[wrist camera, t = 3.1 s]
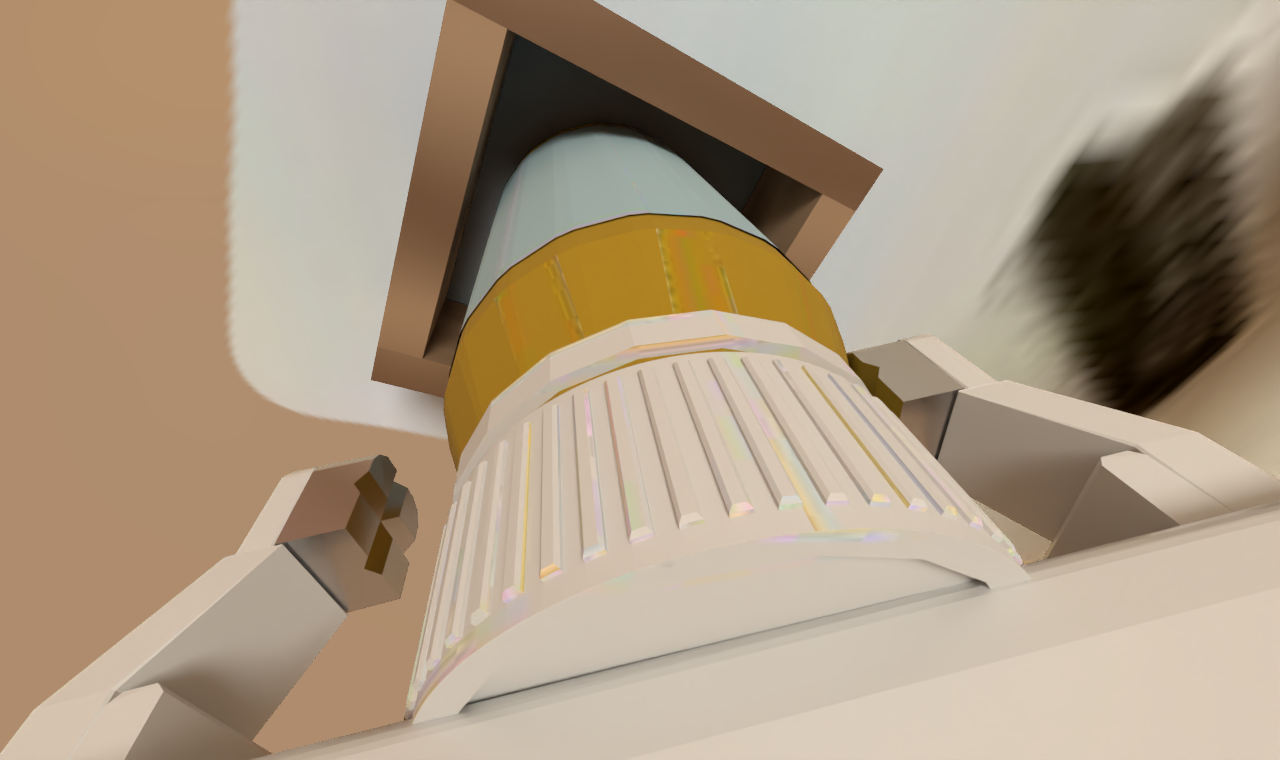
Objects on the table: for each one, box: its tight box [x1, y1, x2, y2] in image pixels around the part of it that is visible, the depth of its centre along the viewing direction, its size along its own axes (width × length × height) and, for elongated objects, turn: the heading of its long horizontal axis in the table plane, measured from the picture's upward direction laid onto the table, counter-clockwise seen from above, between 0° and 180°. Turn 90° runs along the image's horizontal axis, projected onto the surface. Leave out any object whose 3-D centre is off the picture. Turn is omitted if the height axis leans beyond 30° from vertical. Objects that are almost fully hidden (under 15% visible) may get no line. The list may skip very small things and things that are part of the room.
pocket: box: [371, 0, 883, 397], centre depth 15 cm, size 11×11×4 cm
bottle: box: [404, 123, 1031, 724], centre depth 11 cm, size 7×7×15 cm
